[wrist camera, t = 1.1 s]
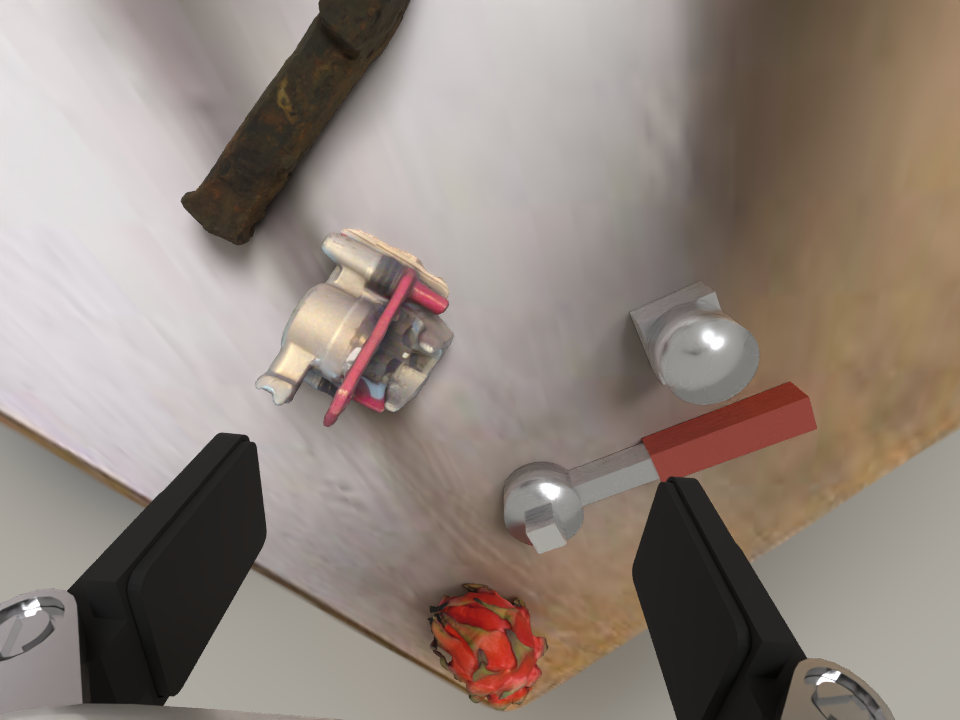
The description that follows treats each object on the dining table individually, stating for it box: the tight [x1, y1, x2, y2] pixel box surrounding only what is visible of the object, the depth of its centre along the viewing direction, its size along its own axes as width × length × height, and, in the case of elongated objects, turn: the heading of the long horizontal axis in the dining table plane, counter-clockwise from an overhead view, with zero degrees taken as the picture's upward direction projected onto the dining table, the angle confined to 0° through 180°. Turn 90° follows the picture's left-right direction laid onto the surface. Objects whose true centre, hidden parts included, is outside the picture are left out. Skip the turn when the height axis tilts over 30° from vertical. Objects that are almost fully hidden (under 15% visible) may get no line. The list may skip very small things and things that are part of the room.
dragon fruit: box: [428, 584, 548, 710], centre depth 41 cm, size 8×8×12 cm
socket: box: [630, 281, 759, 405], centre depth 30 cm, size 5×5×6 cm
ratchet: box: [504, 382, 817, 554], centre depth 35 cm, size 23×6×5 cm, turn 117°
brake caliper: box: [255, 229, 454, 427], centre depth 29 cm, size 11×11×12 cm
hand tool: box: [181, 0, 410, 245], centre depth 26 cm, size 19×4×5 cm, turn 133°
